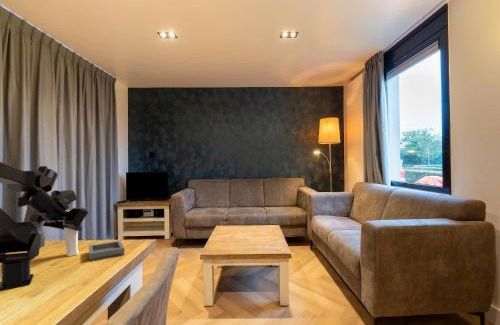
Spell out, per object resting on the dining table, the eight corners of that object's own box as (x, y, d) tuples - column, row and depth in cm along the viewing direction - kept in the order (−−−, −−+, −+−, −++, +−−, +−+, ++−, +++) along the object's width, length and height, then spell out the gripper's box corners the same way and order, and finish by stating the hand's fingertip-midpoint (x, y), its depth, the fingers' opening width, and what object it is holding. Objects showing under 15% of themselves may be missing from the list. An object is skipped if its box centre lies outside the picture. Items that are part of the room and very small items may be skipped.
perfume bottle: (66, 253, 94) (64, 210, 94) (80, 251, 96) (78, 209, 96) (62, 257, 90) (60, 212, 90) (77, 255, 92) (75, 210, 92)
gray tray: (124, 255, 92) (124, 247, 92) (90, 261, 86) (90, 253, 86) (120, 247, 100) (120, 240, 100) (88, 252, 95) (88, 245, 95)
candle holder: (41, 248, 100) (40, 180, 100) (20, 250, 98) (19, 181, 97) (46, 243, 106) (45, 179, 105) (27, 245, 103) (26, 180, 103)
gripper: (82, 183, 86) (109, 211, 97) (38, 182, 91) (68, 209, 102) (59, 212, 79) (91, 239, 90) (12, 210, 84) (48, 236, 95)
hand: (75, 229), depth 94 cm, fingers closed on perfume bottle, 4 cm apart
